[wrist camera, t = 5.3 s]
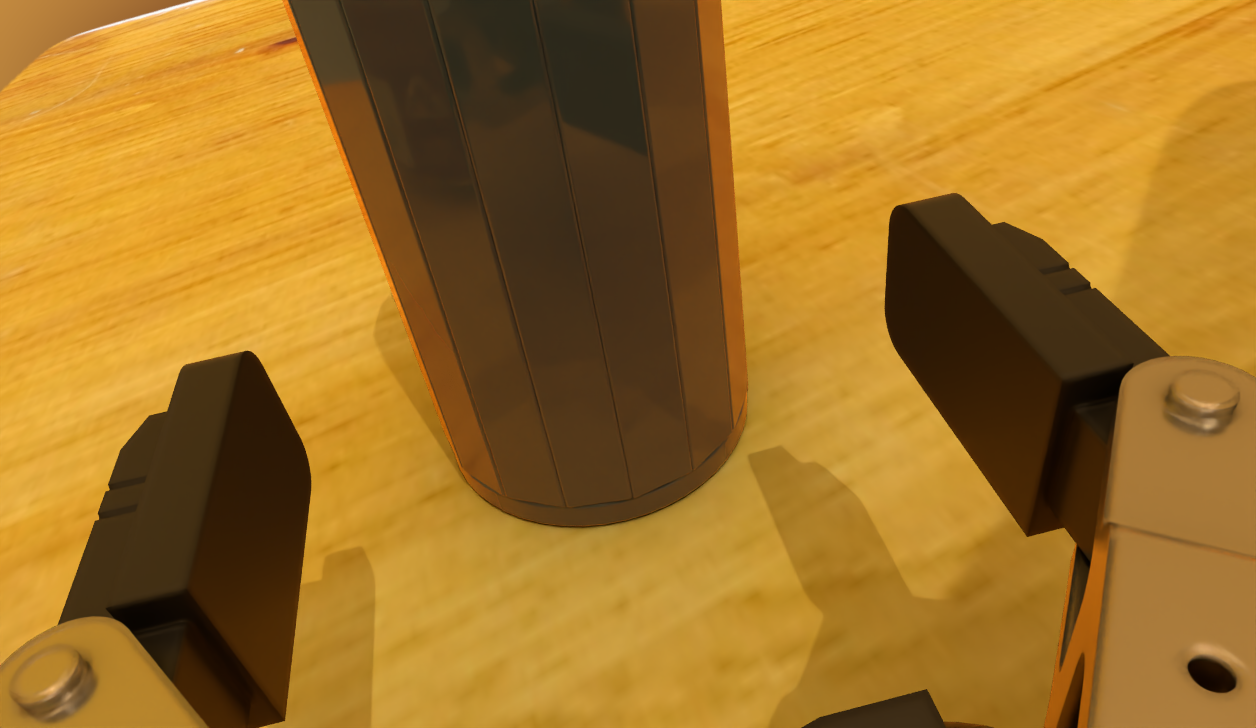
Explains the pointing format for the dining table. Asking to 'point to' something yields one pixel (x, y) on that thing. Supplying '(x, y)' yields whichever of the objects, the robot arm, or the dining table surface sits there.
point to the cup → (551, 234)
